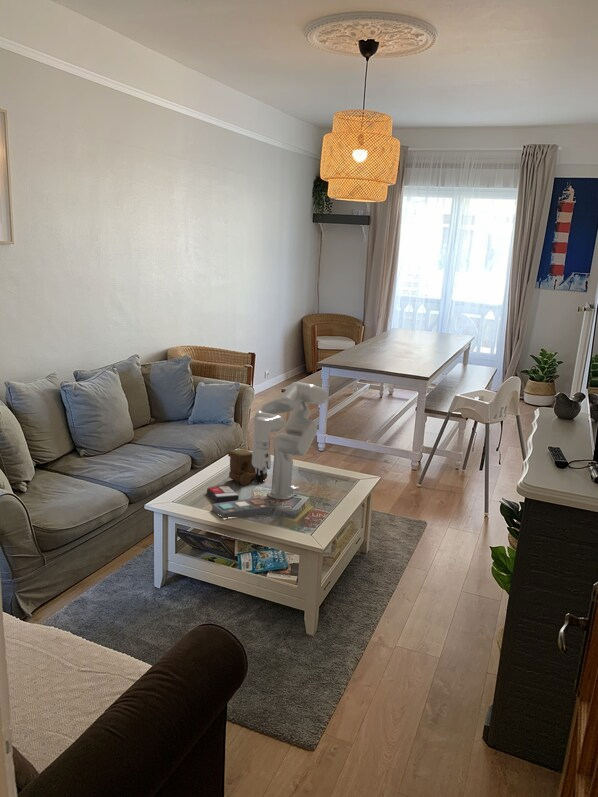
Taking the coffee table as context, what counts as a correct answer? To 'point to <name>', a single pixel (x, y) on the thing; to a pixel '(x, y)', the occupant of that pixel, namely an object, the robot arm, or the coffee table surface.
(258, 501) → the terracotta key
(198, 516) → the coffee table surface
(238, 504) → the cream key
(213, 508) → the dark grey flat block
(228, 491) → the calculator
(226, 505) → the teal key
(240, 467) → the wooden toy train
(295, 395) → the robot arm
